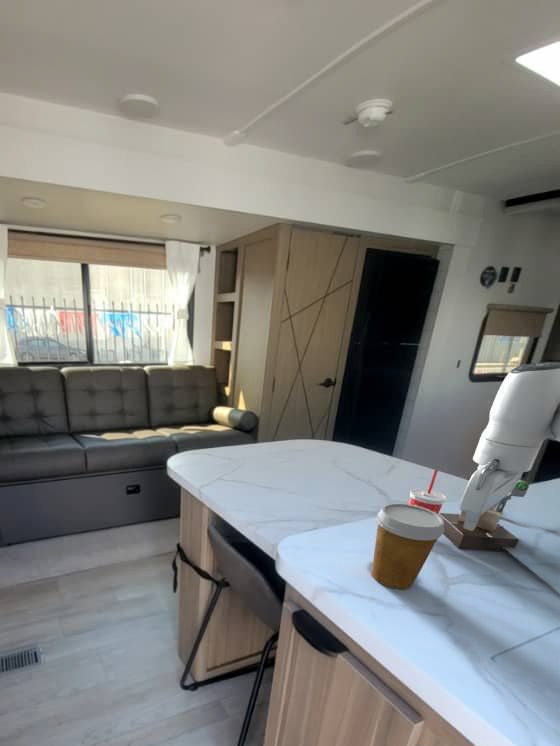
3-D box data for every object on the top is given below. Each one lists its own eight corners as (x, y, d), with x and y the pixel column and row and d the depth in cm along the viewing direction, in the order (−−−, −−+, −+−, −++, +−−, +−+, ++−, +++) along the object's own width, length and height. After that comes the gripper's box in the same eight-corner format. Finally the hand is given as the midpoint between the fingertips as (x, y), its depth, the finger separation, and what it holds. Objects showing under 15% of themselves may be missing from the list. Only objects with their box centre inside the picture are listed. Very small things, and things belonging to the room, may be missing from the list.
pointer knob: (495, 529, 79) (502, 512, 78) (492, 532, 78) (500, 514, 77) (461, 518, 83) (467, 501, 82) (458, 520, 82) (464, 503, 81)
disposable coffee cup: (436, 586, 66) (460, 520, 61) (400, 602, 62) (423, 534, 57) (384, 558, 74) (402, 498, 69) (349, 571, 70) (365, 508, 64)
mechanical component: (499, 524, 88) (517, 481, 84) (479, 506, 97) (494, 466, 93) (514, 526, 88) (533, 483, 83) (493, 507, 97) (509, 467, 92)
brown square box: (483, 528, 86) (488, 515, 85) (514, 553, 77) (520, 538, 76) (433, 524, 87) (437, 511, 86) (458, 549, 78) (463, 534, 76)
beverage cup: (431, 545, 79) (455, 478, 73) (397, 536, 82) (417, 471, 76) (432, 533, 84) (455, 468, 78) (400, 525, 86) (419, 462, 80)
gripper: (507, 471, 66) (477, 544, 72) (539, 451, 78) (511, 515, 84) (464, 461, 71) (439, 530, 77) (500, 443, 83) (476, 504, 89)
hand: (477, 522), depth 81 cm, fingers open, 8 cm apart
